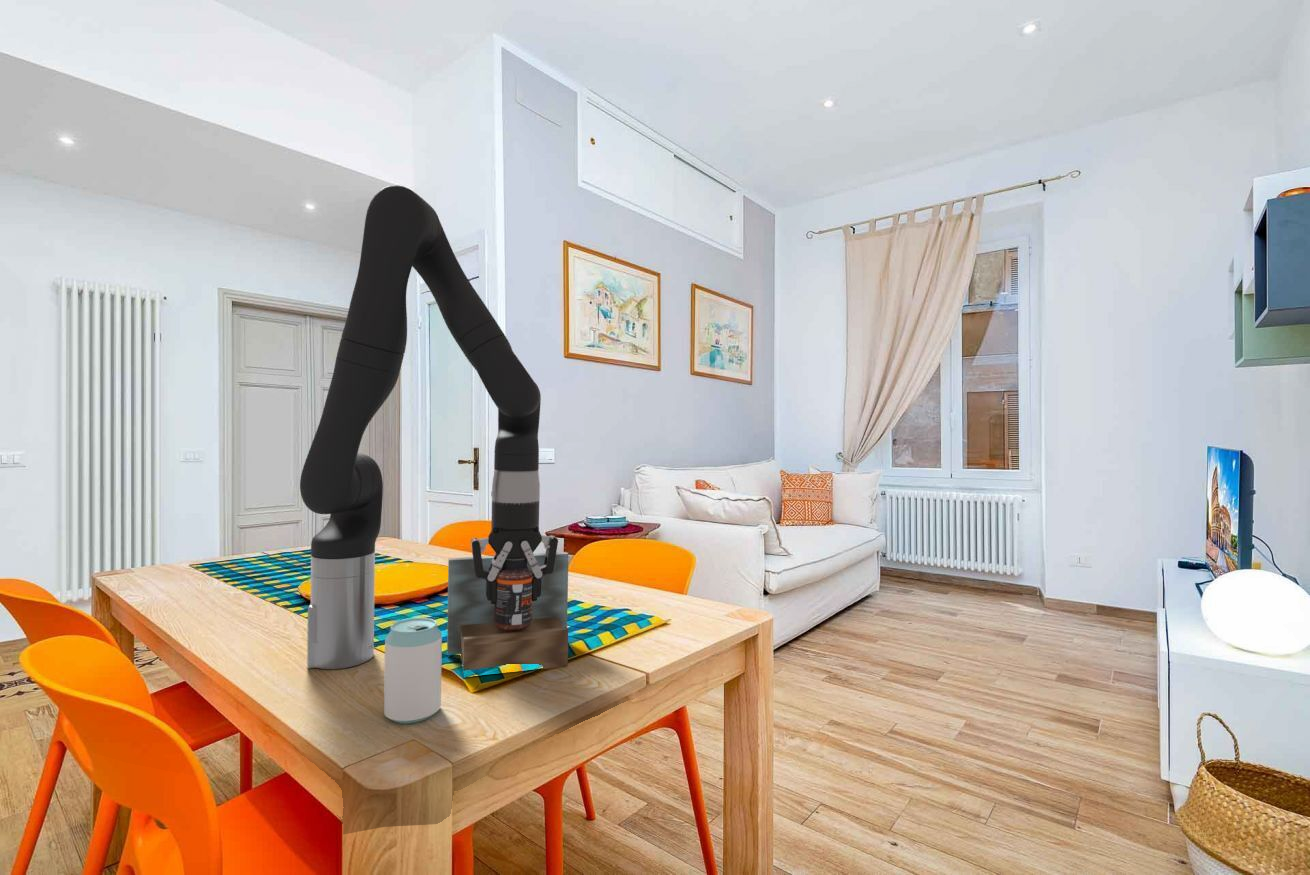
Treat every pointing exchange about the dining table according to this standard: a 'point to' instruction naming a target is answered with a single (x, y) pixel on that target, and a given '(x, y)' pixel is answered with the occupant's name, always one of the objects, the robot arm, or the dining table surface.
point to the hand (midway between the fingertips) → (513, 600)
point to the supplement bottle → (513, 595)
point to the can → (412, 670)
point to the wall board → (497, 647)
